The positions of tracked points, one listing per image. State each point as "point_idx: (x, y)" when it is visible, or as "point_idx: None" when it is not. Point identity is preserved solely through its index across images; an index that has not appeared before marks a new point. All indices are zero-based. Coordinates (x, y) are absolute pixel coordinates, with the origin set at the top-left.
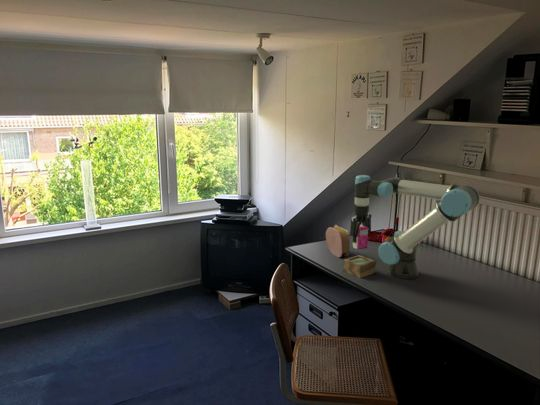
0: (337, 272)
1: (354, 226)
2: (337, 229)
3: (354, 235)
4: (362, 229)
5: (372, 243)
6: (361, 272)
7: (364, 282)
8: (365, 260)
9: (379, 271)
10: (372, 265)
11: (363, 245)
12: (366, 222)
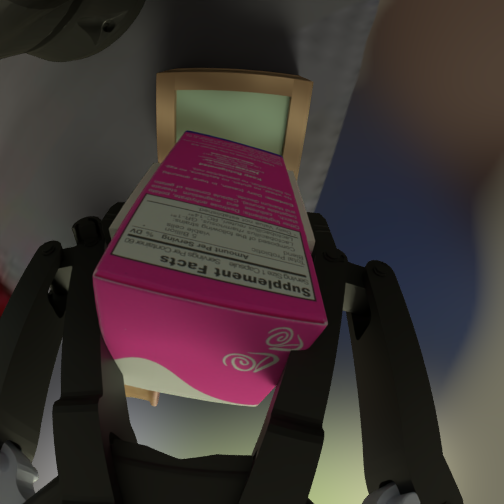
0: (312, 190)
1: (422, 389)
2: (141, 389)
3: (377, 266)
4: (258, 296)
5: (15, 283)
6: (292, 76)
7: (327, 33)
8: (185, 130)
9: (143, 70)
10: (192, 70)
11: (230, 150)
12: (72, 406)
